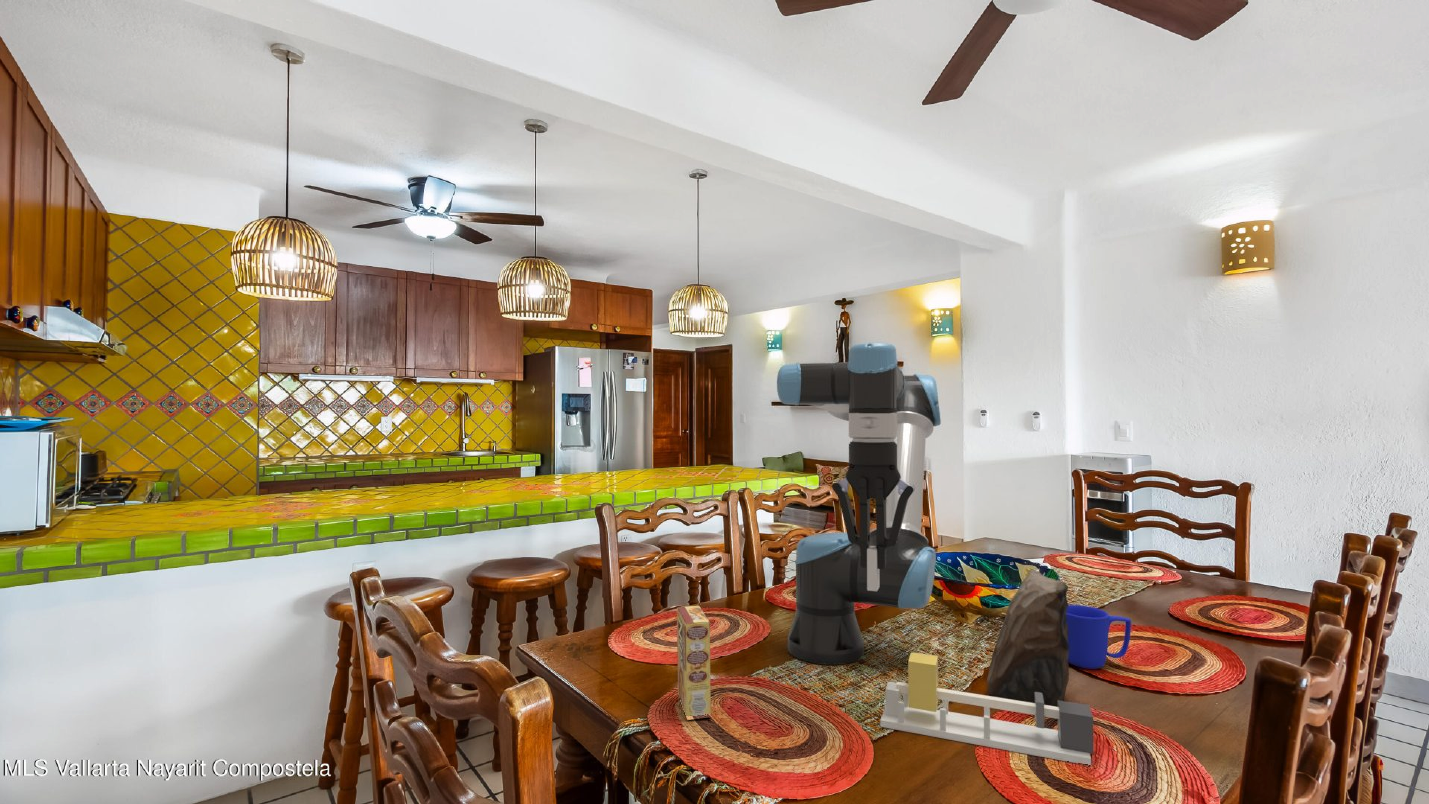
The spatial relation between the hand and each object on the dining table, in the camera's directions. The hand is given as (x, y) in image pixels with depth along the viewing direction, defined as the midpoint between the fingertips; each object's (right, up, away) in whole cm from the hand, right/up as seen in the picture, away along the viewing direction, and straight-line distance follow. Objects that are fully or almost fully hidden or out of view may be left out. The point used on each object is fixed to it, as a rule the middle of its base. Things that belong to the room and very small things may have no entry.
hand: (873, 588), depth 102 cm
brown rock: (+28, -20, +8) cm, 35 cm away
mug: (+47, -21, +20) cm, 55 cm away
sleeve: (+7, -17, -3) cm, 19 cm away
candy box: (-29, -20, +2) cm, 35 cm away
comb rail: (+14, -20, -6) cm, 25 cm away
